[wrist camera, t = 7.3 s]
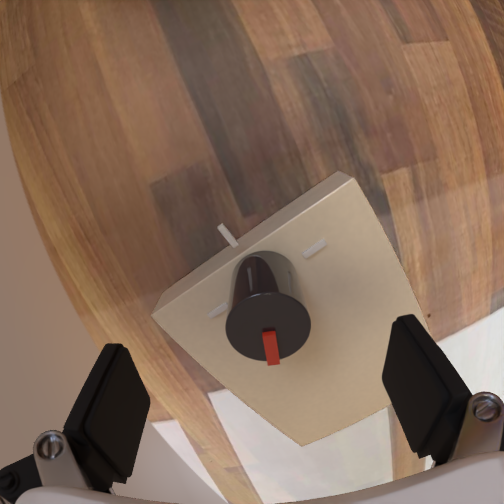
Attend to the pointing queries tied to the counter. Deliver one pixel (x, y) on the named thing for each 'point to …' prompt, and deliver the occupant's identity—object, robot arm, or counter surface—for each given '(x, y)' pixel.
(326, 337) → the panel
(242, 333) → the knob
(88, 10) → the counter surface
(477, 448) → the robot arm
